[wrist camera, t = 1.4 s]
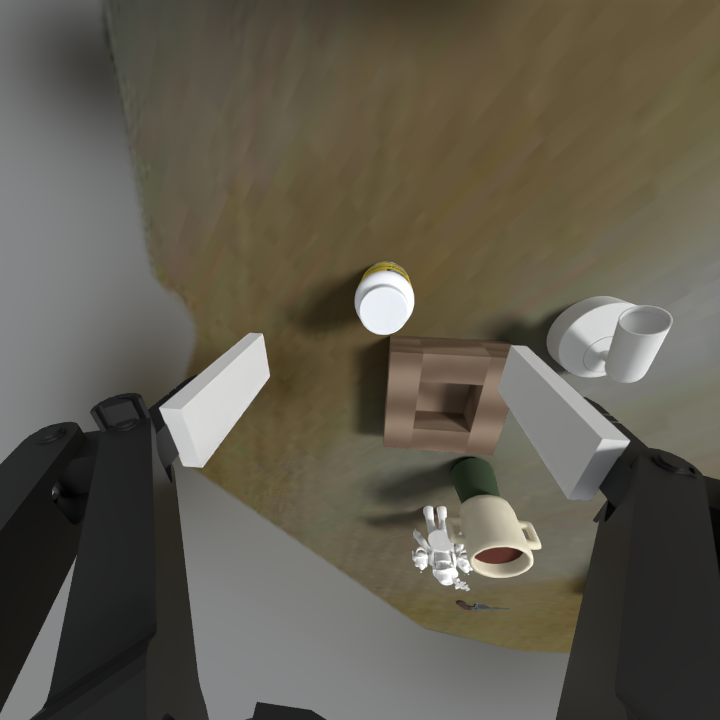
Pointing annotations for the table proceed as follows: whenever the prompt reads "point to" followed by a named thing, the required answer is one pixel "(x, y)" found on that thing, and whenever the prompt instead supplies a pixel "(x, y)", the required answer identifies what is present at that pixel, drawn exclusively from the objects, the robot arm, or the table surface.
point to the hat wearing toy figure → (440, 550)
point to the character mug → (489, 524)
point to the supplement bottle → (384, 298)
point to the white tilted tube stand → (608, 338)
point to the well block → (445, 394)
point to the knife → (476, 607)
